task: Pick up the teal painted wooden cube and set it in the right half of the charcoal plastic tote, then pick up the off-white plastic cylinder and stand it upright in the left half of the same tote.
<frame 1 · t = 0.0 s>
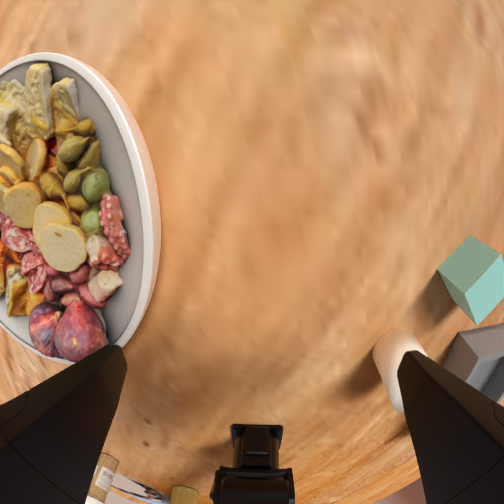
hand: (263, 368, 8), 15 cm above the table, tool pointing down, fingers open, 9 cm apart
teal cube: (461, 268, 22), on the table
bowl: (42, 211, 22), on the table
vase: (185, 489, 43), on the table
tote: (467, 376, 28), on the table
white cylinder: (393, 347, 25), on the table
spice jar: (109, 457, 40), on the table
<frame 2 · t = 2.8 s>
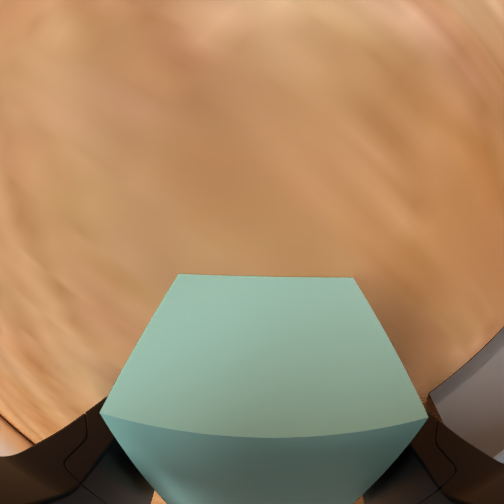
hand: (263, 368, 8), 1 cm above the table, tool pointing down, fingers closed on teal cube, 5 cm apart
teal cube: (263, 346, 9), on the table, touching gripper
bowl: (14, 442, 20), on the table
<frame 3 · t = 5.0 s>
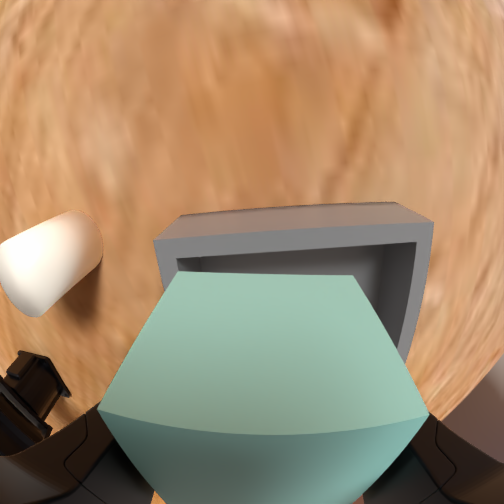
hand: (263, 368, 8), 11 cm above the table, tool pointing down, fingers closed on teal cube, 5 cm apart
teal cube: (263, 344, 9), point 10 cm above the table, touching gripper
tote: (295, 326, 20), on the table
white cylinder: (77, 241, 19), on the table
when the fingers open (3 cm above the table, at t = 7.1 s): teal cube drops 1 cm, resting on tote.
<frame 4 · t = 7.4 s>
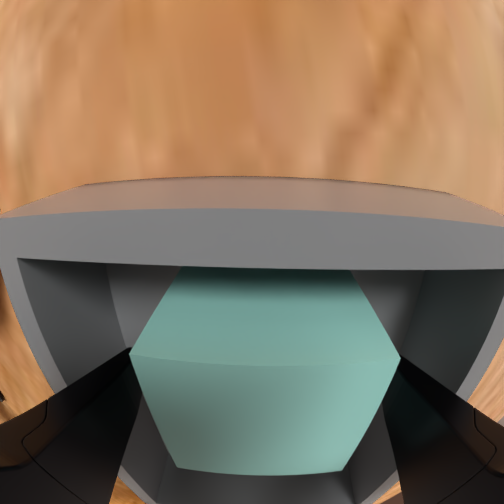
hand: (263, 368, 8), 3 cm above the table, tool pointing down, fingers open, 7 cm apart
teal cube: (264, 319, 10), point 1 cm above the table, touching tote
tote: (262, 379, 12), on the table
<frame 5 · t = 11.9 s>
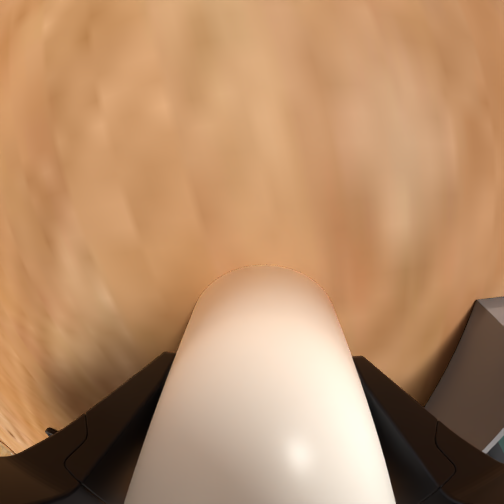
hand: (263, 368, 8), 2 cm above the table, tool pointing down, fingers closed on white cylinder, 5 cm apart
tote: (485, 403, 12), on the table
white cylinder: (264, 331, 9), on the table, touching gripper
spice jar: (8, 447, 24), on the table
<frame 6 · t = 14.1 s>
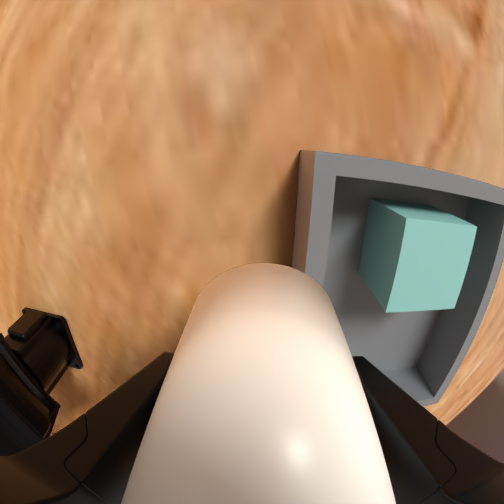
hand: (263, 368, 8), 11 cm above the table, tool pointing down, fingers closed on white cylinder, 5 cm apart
teal cube: (397, 238, 17), point 1 cm above the table, touching tote
tote: (382, 287, 19), on the table
white cylinder: (263, 329, 9), point 9 cm above the table, touching gripper
when the fingers open (4 cm above the table, at t = 16.7 s): white cylinder drops 1 cm, resting on tote.
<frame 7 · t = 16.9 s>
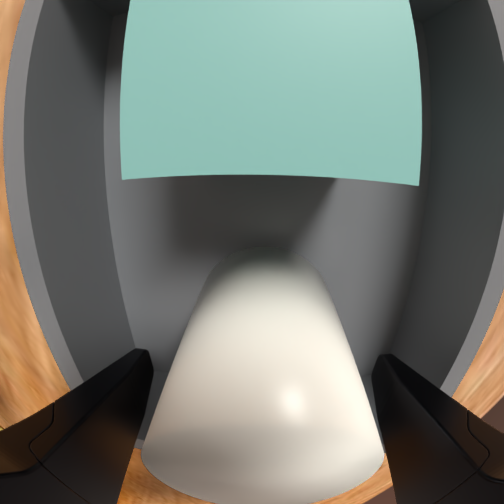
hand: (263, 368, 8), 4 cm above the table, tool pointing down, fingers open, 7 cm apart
teal cube: (268, 87, 8), point 1 cm above the table, touching tote
tote: (268, 202, 10), on the table
white cylinder: (264, 307, 11), point 1 cm above the table, touching tote
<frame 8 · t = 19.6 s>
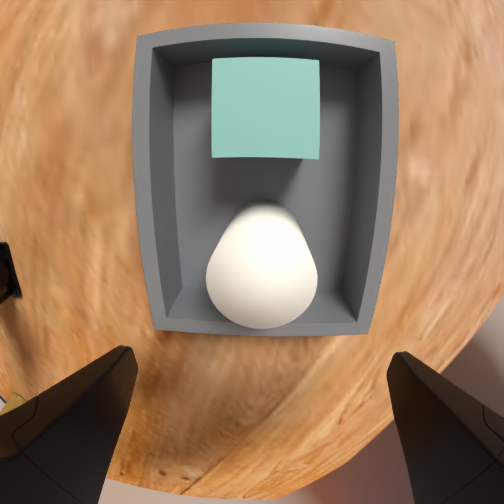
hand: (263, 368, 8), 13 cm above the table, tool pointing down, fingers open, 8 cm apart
teal cube: (265, 116, 16), point 1 cm above the table, touching tote
vase: (24, 403, 34), on the table
tote: (264, 177, 18), on the table
white cylinder: (263, 236, 19), point 1 cm above the table, touching tote
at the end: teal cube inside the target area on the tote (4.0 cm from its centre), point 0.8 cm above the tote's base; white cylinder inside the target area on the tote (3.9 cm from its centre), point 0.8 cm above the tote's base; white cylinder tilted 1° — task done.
